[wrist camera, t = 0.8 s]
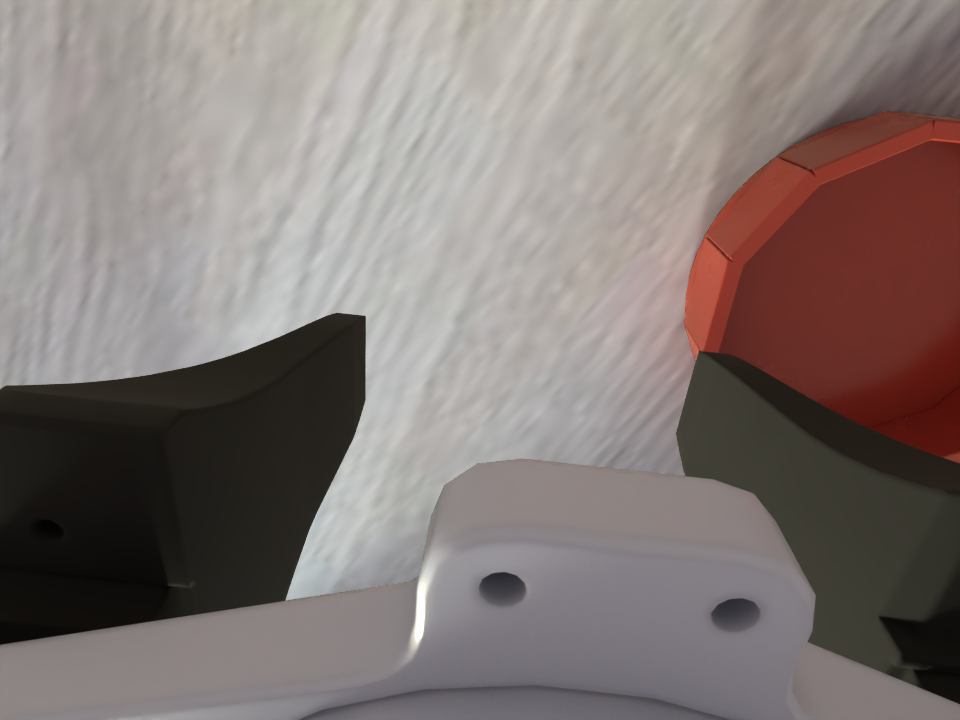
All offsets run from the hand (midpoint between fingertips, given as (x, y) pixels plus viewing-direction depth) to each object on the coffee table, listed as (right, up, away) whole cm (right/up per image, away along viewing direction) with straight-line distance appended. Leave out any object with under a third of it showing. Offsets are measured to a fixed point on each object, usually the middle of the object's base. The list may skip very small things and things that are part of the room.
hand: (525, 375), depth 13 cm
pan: (+11, 0, +9) cm, 14 cm away
